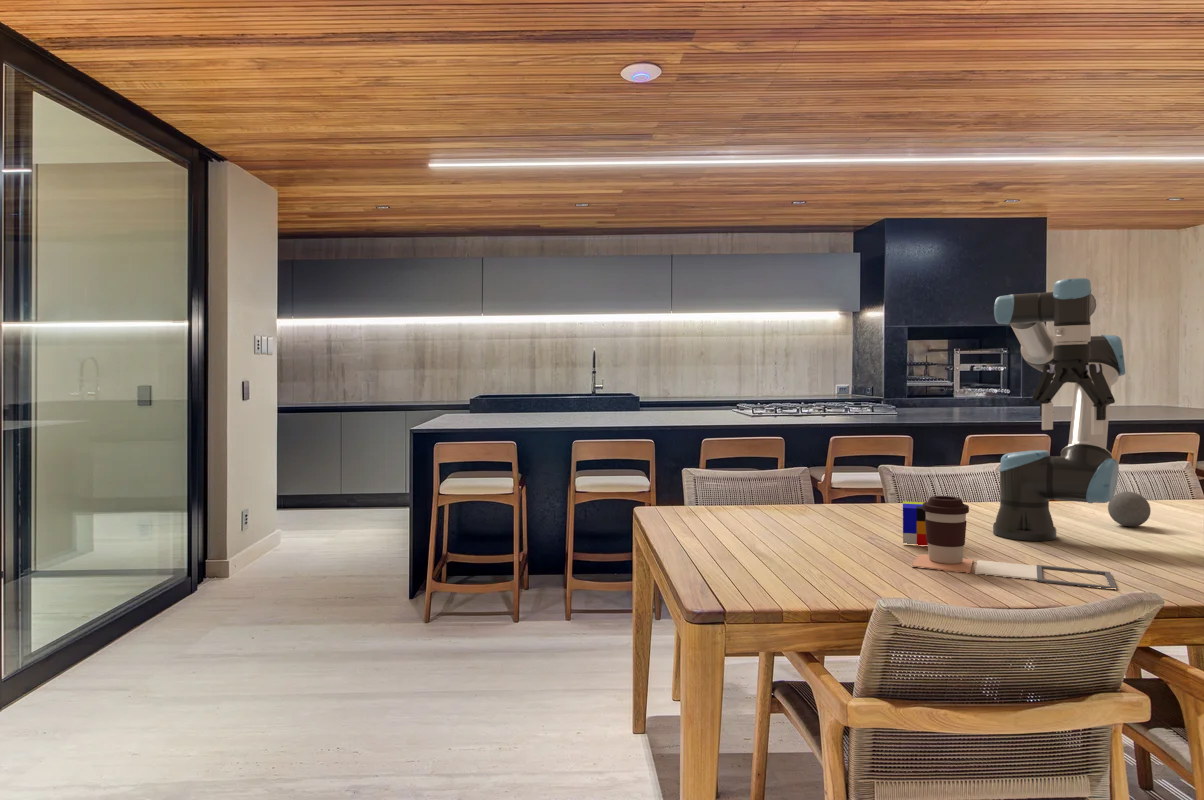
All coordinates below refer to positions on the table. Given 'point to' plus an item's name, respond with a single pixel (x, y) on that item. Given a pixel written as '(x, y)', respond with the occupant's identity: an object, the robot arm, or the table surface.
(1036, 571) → the game board
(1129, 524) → the decorative ball
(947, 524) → the coffee cup
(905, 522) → the puzzle toy
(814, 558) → the table surface
